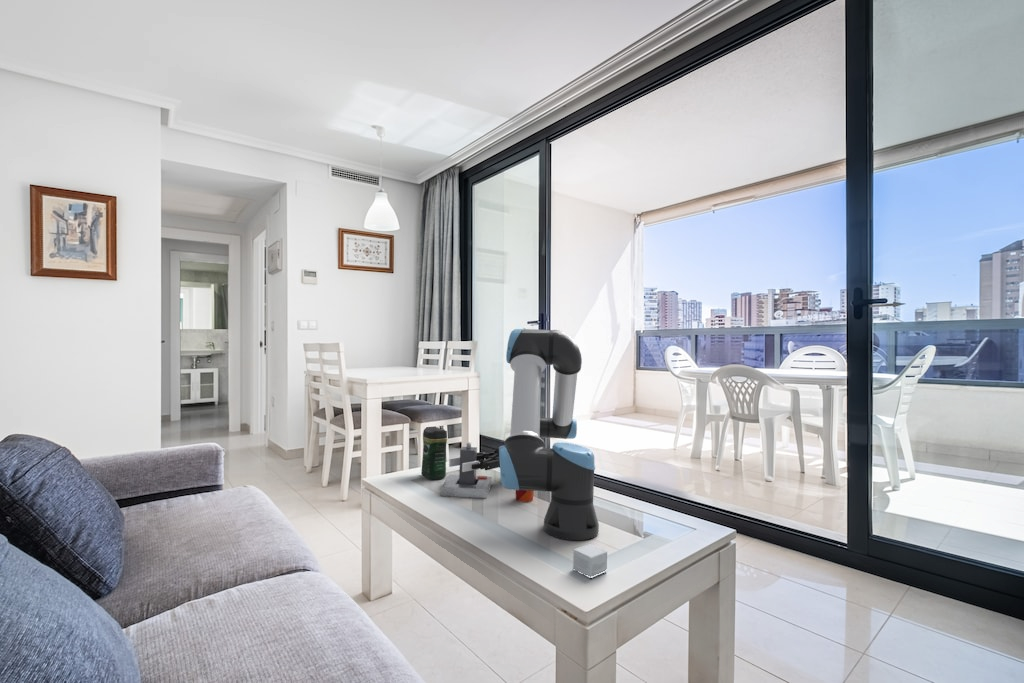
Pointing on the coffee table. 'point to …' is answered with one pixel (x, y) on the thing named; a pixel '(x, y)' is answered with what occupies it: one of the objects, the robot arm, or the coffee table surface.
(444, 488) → the socket plate
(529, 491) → the paper cup
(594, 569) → the small box
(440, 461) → the coffee jar
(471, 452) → the plug
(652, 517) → the coffee table surface
